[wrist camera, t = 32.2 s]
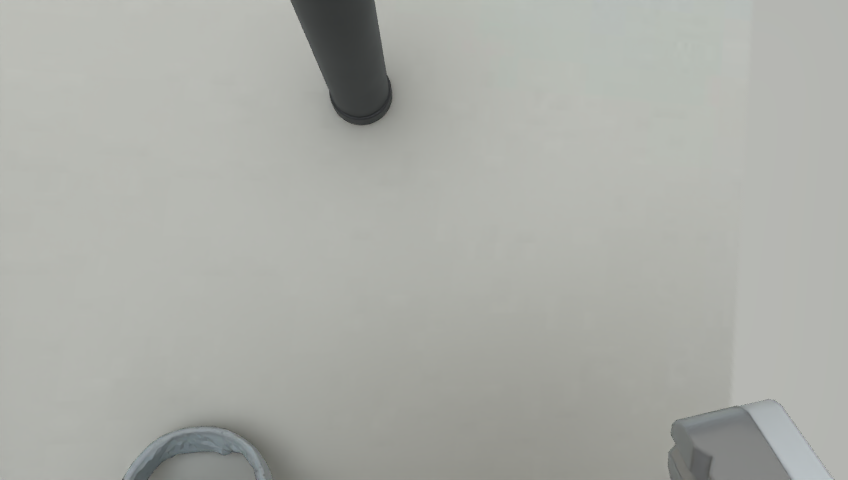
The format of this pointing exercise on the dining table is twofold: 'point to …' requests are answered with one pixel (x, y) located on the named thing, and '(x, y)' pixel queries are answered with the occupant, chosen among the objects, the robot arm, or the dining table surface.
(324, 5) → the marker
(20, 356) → the dining table surface
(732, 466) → the robot arm
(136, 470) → the ceramic mug
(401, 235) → the dining table surface
